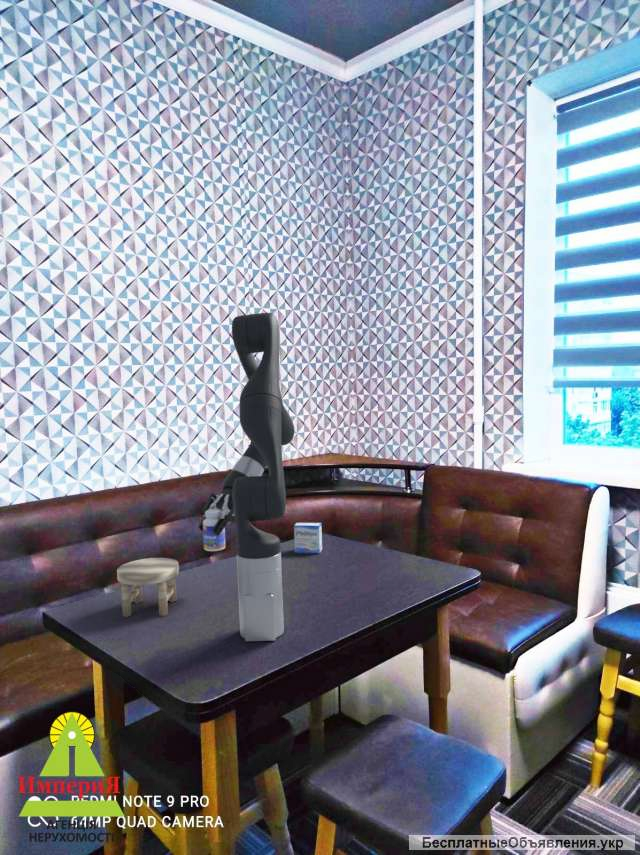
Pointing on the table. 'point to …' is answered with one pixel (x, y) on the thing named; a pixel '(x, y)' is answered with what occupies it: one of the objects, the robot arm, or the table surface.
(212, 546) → the pill bottle
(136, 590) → the small wooden stool
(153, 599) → the table surface
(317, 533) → the medicine box
